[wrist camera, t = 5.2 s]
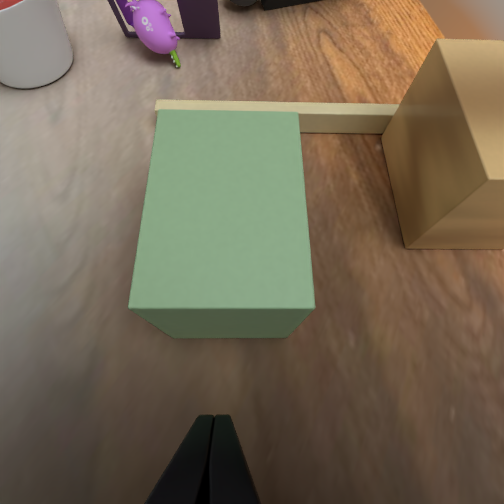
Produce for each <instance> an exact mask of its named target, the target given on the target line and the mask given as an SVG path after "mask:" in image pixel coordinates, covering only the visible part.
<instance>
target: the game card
mask: <svg viewBox="0 0 504 504" xmlns="http://www.w3.org/2000/svg"><path fill="white" fill-rule="evenodd" d="M108 2H109V4H110V6H111V8H112V10H113V12H114V14H115V16H116V18H117V20H118V22H119V24H120V26H121V28H122V30H123V32H124V34H125V36H126V37H134V38H140V40H141V41H142V42H143V43H144V44H145V45H146V46H147V47H148V48H149V49H151V50H152V51H154V52H156V53H159V54H171V56H172V57H171V58H173V59H174V61H173V62H174V63H176V66H175V67H177V68H178V67H180V66H181V65H180V62H179V58H178V57H177V54H176V52H175V49H176V47H177V40H180V38H215V39H218V38H220V24H219V12H218V1H217V0H177V3H178V7H179V11H180V15H181V19H182V24H183V28H184V32H174V29H173V27H172V25H171V23H170V20H169V17H170V16H171V14H167V13H166V9H164V7H163V6H162V5H161V4H160V3H159V2H158V1H156V0H139V1H136V0H132V2H128V1H127V0H116V2H117V4H118V6H119V7H120V9H121V11H122V13H123V15H124V17H125V19H126V22H127V23H128V24H129V25H131V26H133V27H134V28H135V31H136V32H129V31H128V30H127V28H126V25H125V23H124V21H123V19H122V17H121V15H120V13H119V11H118V8H117V6H116V4H115V2H114V0H108ZM130 6H131V8H130ZM132 10H134V11H133V12H132Z"/></svg>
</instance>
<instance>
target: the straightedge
mask: <svg viewBox="0 0 504 504" xmlns="http://www.w3.org/2000/svg"><path fill="white" fill-rule="evenodd" d="M399 105H400V104H358V103H307V102H256V101H205V100H156V105H155V114H156V117H157V115H158V110H159V109H176V110H229V111H283V112H298V115H299V126H300V132H307V133H366V134H383V133H384V132H385V130H386V128H387V126H388V125H389V123H390V121H391V119H392V117H393V116H394V114H395V112H396V110H397V108H398V107H399Z"/></svg>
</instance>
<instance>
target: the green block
mask: <svg viewBox="0 0 504 504" xmlns="http://www.w3.org/2000/svg"><path fill="white" fill-rule="evenodd" d="M128 309H130V310H131V311H133V312H134V313H136V314H137V315H139V316H140V317H142V318H143V319H145V320H146V321H148V322H149V323H151V324H152V325H154V326H155V327H157V328H158V329H160V330H161V331H163V332H164V333H166V334H167V335H169V336H170V337H172V338H287V337H288V336H289V335H290V334H291V333H292V332H293V331H294V330H295V329H296V328H297V327H298V326H299V325H300V324H301V322H302V321H303V320H304V319H305V318H306V317H307V316H308V315H309V314H310V313H311V312H312V311H313V310H314V309H315V298H314V286H313V275H312V263H311V252H310V241H309V229H308V218H307V206H306V195H305V183H304V172H303V161H302V149H301V138H300V126H299V115H298V112H283V111H229V110H176V109H159V110H158V115H157V121H156V128H155V134H154V141H153V147H152V154H151V160H150V167H149V173H148V180H147V186H146V193H145V199H144V206H143V212H142V219H141V225H140V232H139V238H138V245H137V251H136V258H135V264H134V271H133V277H132V284H131V290H130V297H129V303H128Z"/></svg>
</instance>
